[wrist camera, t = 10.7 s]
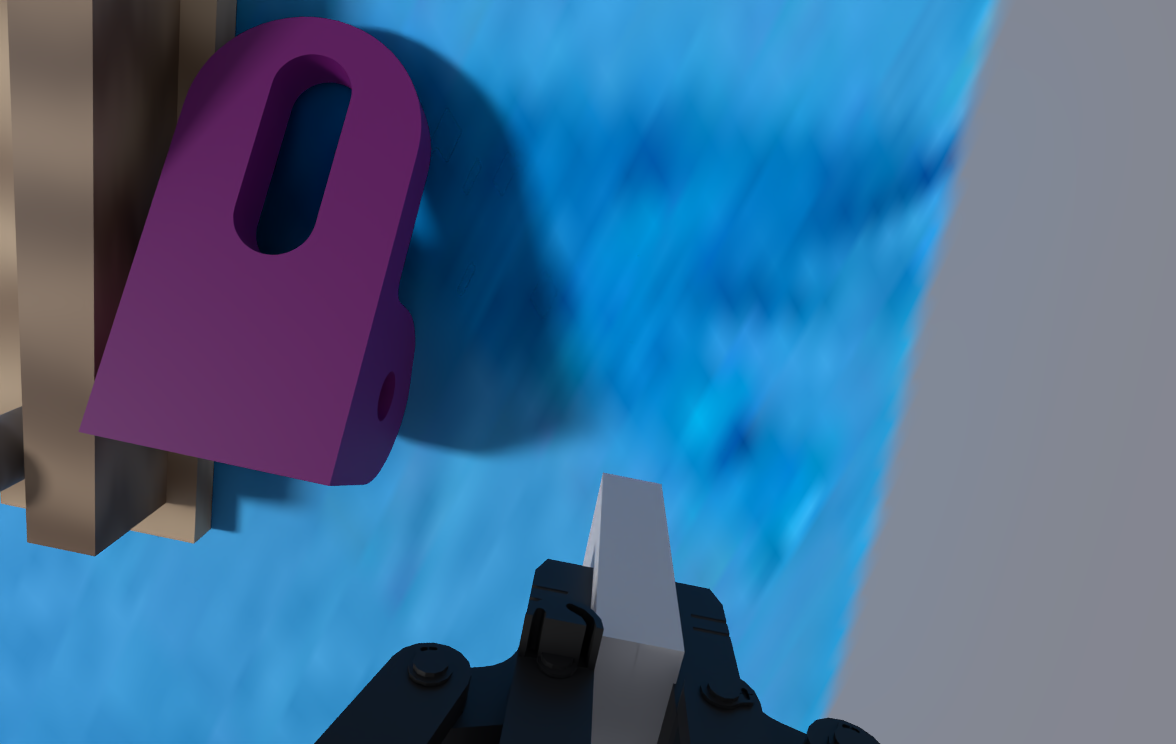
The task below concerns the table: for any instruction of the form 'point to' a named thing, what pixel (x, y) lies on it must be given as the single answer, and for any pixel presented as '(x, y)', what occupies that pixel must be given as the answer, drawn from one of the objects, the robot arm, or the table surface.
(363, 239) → the mounting bracket
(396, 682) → the robot arm
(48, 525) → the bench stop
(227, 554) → the table surface
